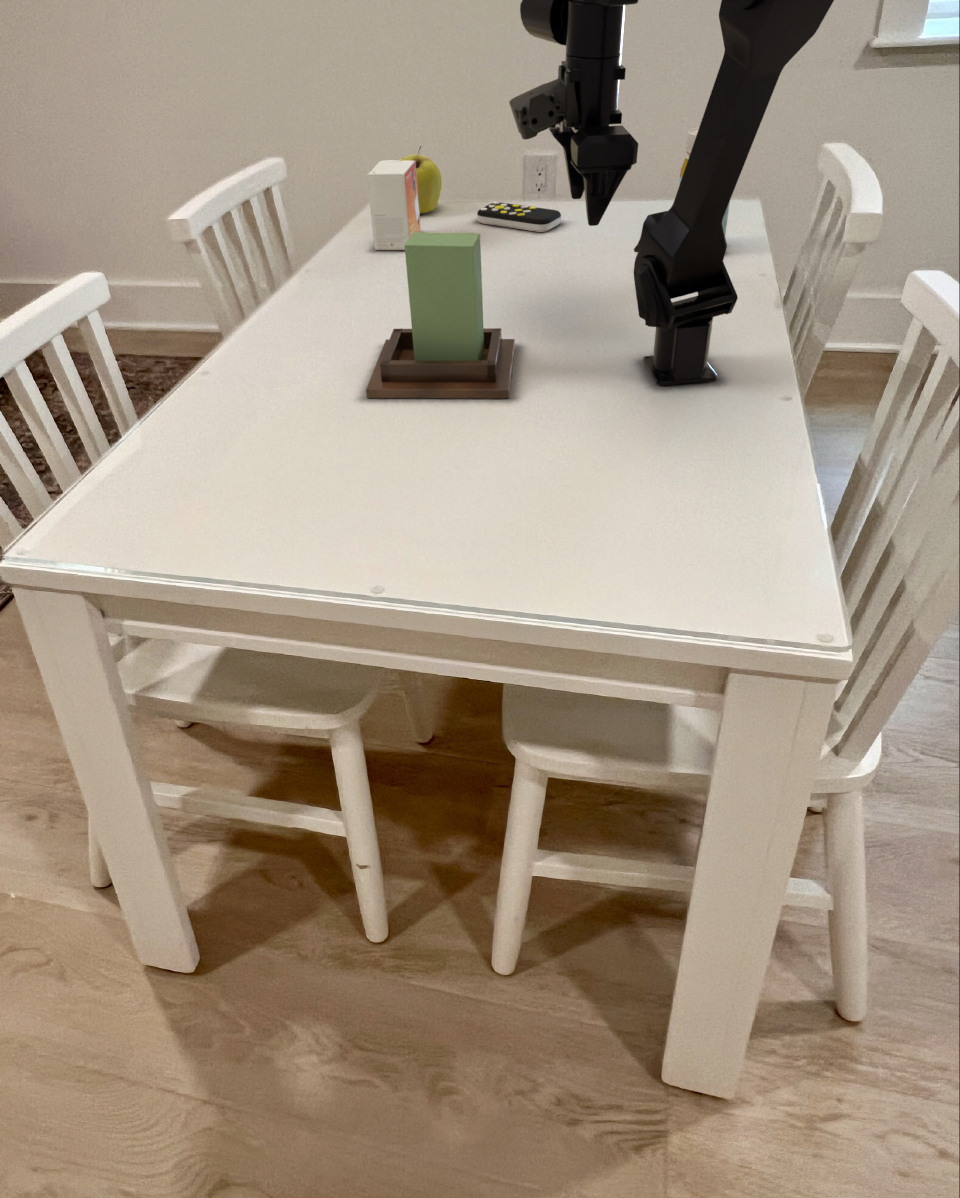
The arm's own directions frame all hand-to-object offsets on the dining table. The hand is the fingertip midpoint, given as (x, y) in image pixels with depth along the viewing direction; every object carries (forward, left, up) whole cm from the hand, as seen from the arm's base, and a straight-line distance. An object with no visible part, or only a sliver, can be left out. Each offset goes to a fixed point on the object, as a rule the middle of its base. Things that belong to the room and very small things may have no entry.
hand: (584, 211), depth 101 cm
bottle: (+20, -21, -12) cm, 32 cm away
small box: (+33, +21, -12) cm, 41 cm away
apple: (+48, +17, -12) cm, 53 cm away
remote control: (+38, +2, -12) cm, 40 cm away
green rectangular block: (-12, +17, -11) cm, 24 cm away
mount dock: (-13, +18, -12) cm, 25 cm away
